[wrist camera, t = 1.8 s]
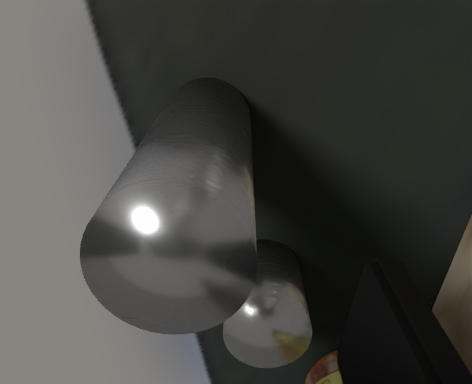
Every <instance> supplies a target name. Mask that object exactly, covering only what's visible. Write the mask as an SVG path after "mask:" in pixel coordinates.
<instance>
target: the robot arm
mask: <svg viewBox="0 0 472 384" xmlns="http://www.w3.org/2000/svg"><path fill="white" fill-rule="evenodd" d="M337 363H338V368H339V372H340V375H341V379H342V383H343V384H472V374H471V373H470V371H469V370H468V368H467V366H466V365H465V363H464V362H463V360H462V358H461V357H460V355H459V354H458V352H457V350H456V349H455V347H454V346H453V344H452V342H451V341H450V339H449V337H448V336H447V334H446V333H445V331H444V329H443V328H442V326H441V325H440V323H439V321H438V320H437V318H436V317H435V315H434V313H433V312H432V310H431V308H430V307H429V305H428V304H427V302H426V300H425V299H424V297H423V296H422V294H421V292H420V291H419V289H418V288H417V286H416V284H415V283H414V281H413V279H412V278H411V276H410V275H409V273H408V271H407V270H406V268H405V267H404V265H403V263H402V262H401V261H399V260H391V259H384V258H374V259H373V261H372V262H371V263H368V262H367V263H365V265H364V267H363V270H362V273H361V276H360V279H359V283H358V286H357V289H356V292H355V296H354V299H353V302H352V305H351V309H350V312H349V315H348V318H347V322H346V325H345V328H344V332H343V335H342V338H341V341H340V345H339V348H338V353H337Z"/></svg>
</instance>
